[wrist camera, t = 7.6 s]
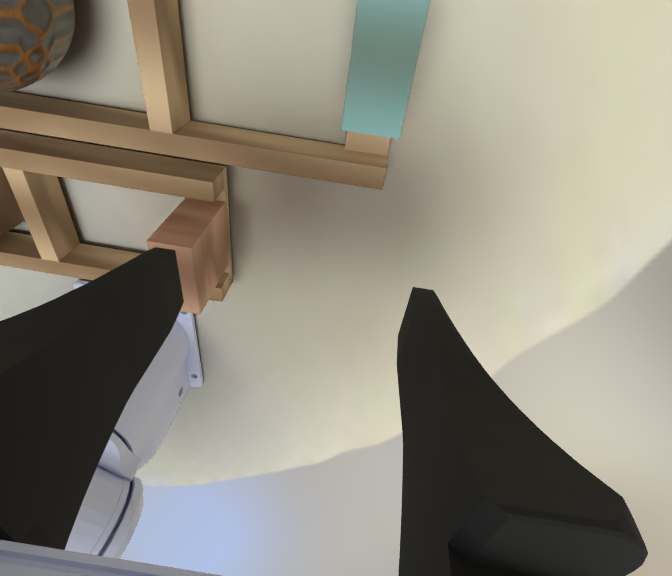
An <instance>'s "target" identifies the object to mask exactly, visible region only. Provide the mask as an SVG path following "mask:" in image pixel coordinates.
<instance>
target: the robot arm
mask: <svg viewBox="0 0 672 576" xmlns="http://www.w3.org/2000/svg"><path fill="white" fill-rule="evenodd" d="M73 289H74V290H72V291H70V292H68V293H66V294H64V295H62V296H60V297H58V298H56V299H54V300H52V301H49V302H47V303H45V304H43V305H40V306H38V307H36V308H33V309H31V310H28V311H26V312H23V313H21V314H18V315H16V316H13V317H11V318H8V319H5V320H2V321H0V576H221V575H215V574H209V573H202V572H196V571H190V570H184V569H177V568H172V567H166V566H159V565H153V564H147V563H140V562H134V561H128V560H122V559H120V557H121V555H122V554H123V552H124V550H125V549H126V547H127V545H128V543H129V541H130V539H131V537H132V535H133V532H134V531H135V528H136V526H137V523H138V521H139V518H140V514H141V511H142V507H143V484H142V481H141V480H140V479H139V478H137V477H134V475H135V473H136V471H137V470H138V469H140V468H141V467H142V466H144V465H145V464H146V463H147V462H148V461H149V460H150V459H151V458H152V457H153V456H154V455H155V453H156V452H157V450H158V449H159V447H160V445H161V443H162V441H163V439H164V437H165V435H166V432H167V430H168V428H169V426H170V424H171V422H172V420H173V418H174V416H175V414H176V412H177V410H178V408H179V406H180V404H181V402H182V400H183V398H184V396H185V394H186V392H187V390H188V388H189V386H191V387H201V386H202V384H203V376H202V369H201V362H200V356H199V349H198V342H197V336H196V329H195V322H194V316H193V313H189V312H183V311H180V310H181V307H182V305H183V303H184V299H183V293H182V287H181V281H180V275H179V269H178V264H177V258H176V252H175V250H171V249H165V248H158V247H154V248H152V249H150V250H148V251H146V252H144V253H142V254H140V255H139V256H137V257H135V258H133V259H131V260H129V261H128V262H126V263H124V264H122V265H120V266H118V267H117V268H115V269H113V270H111V271H109V272H107V273H106V274H104V275H102V276H100V277H98V278H96V279H94V280H93V281H91V282H88V281H82V280H78V281H76V282H75V283H74V284H73ZM397 372H398V384H399V396H400V408H401V419H402V431H403V484H402V485H403V486H402V517H401V540H400V559H399V576H626V575H627V574H629V573H631V572H633V571H635V570H636V569H637V568H639V567H640V566H641V565H642V564H643V562H644V561H645V559H646V557H647V554H648V552H647V549H646V546H645V543H644V541H643V539H642V537H641V534H640V532H639V530H638V528H637V525H636V523H635V521H634V519H633V517H632V515H631V513H630V511H629V508H628V507H627V505H626V503H625V501H624V499H623V497H622V496H620V495H619V494H618V493H616V492H615V491H614V490H612V489H611V488H610V487H609V486H607V485H606V484H605V483H603V482H602V481H601V480H600V479H598V478H597V477H596V476H594V475H593V474H592V473H591V472H589V471H588V470H587V469H585V468H584V467H583V466H581V465H580V464H579V463H578V462H577V461H575V460H574V459H573V458H572V457H571V456H569V455H568V454H567V453H566V452H565V451H564V450H563V449H561V448H560V447H559V446H558V445H557V444H556V443H554V442H553V441H552V440H551V439H550V438H549V437H548V436H547V435H545V434H544V433H543V432H542V431H541V430H540V429H539V428H538V427H537V426H536V425H535V424H534V423H533V422H532V421H531V420H530V419H529V418H528V417H527V416H526V415H525V414H524V413H523V412H521V411H520V409H519V408H518V407H517V406H516V405H515V404H514V403H513V402H512V401H511V400H510V399H509V398H508V397H507V395H506V394H505V393H504V392H503V391H502V390H501V389H500V388H499V386H498V385H497V384H496V383H495V382H494V381H493V379H492V378H491V377H490V376H489V375H488V373H487V372H486V371H485V370H484V368H483V367H482V366H481V364H480V363H479V362H478V360H477V359H476V357H475V356H474V355H473V353H472V352H471V350H470V349H469V348H468V346H467V345H466V343H465V342H464V340H463V338H462V337H461V335H460V334H459V332H458V331H457V329H456V328H455V326H454V324H453V323H452V321H451V319H450V318H449V316H448V314H447V313H446V311H445V309H444V308H443V306H442V304H441V302H440V301H439V299H438V297H437V295H436V294H435V292H434V291H433V290H428V289H422V288H415V287H413V288H412V292H411V295H410V298H409V302H408V305H407V308H406V311H405V315H404V318H403V321H402V324H401V328H400V331H399V334H398V349H397Z"/></svg>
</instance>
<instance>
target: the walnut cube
mask: <svg viewBox="0 0 672 576" xmlns="http://www.w3.org/2000/svg"><path fill="white" fill-rule="evenodd" d="M24 220H25V219H24V217H23V214H22V212H21V210H20V207H19V205H18V203H17V200H16V198H15V196H14V193H13V191H12V189H11V186H10V184H9V182H8V180H7V177H6V175H5V173H4V170H3V168H2V167H0V236H2V235H3V234H5V233H6V232H8V231H9V230H11V229H12V228H14V227H15V226H17V225H18V224H20V223H21V222H23V221H24Z"/></svg>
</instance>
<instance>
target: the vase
mask: <svg viewBox="0 0 672 576" xmlns="http://www.w3.org/2000/svg"><path fill="white" fill-rule="evenodd" d="M74 29H75V9H74V2H73V0H0V94H3V93H7V92H11V91H15V90H18V89H21V88H24V87H26V86H29V85H31V84H33V83H35V82H37V81H39V80H41V79H43V78H44V77H45V76H47V75H48V74H49V73H50V72H51V71H53V70H54V69H55V68H56V67H57V65H58V64H59V63H60V62H61V60H62V59H63V58H64V56H65V55H66V53H67V51H68V49H69V47H70V44H71V42H72V39H73V35H74Z"/></svg>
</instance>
